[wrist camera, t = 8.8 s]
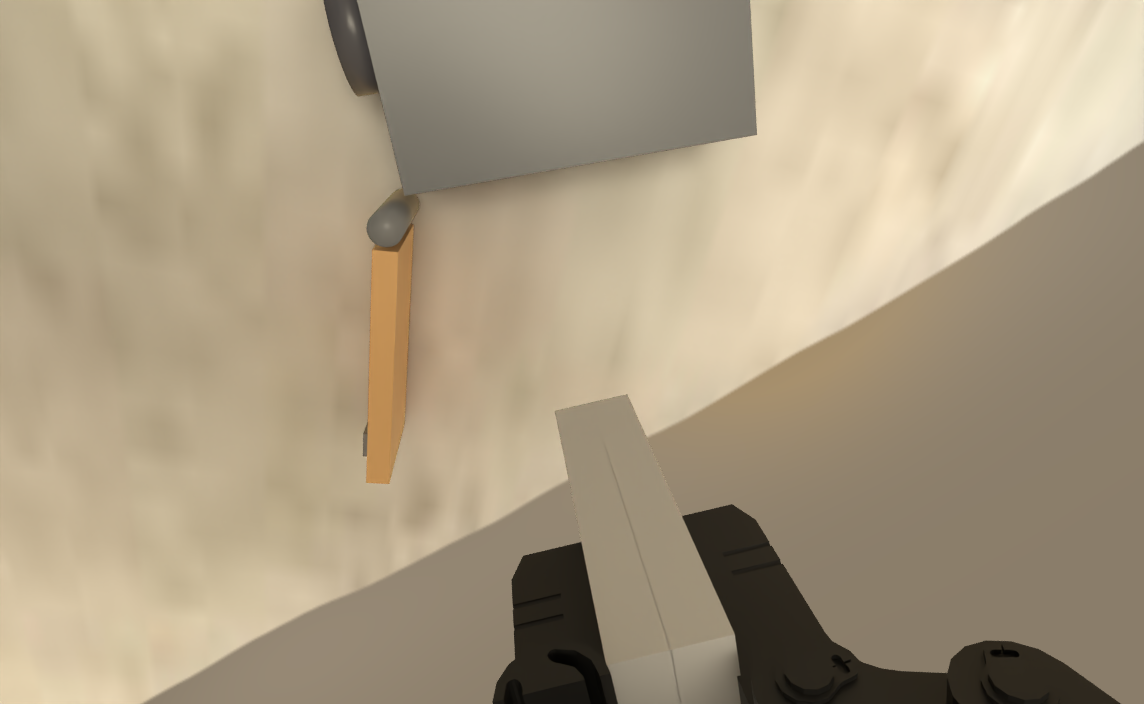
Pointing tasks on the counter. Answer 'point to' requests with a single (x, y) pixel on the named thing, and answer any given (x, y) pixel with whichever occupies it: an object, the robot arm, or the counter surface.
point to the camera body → (545, 80)
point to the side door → (388, 331)
